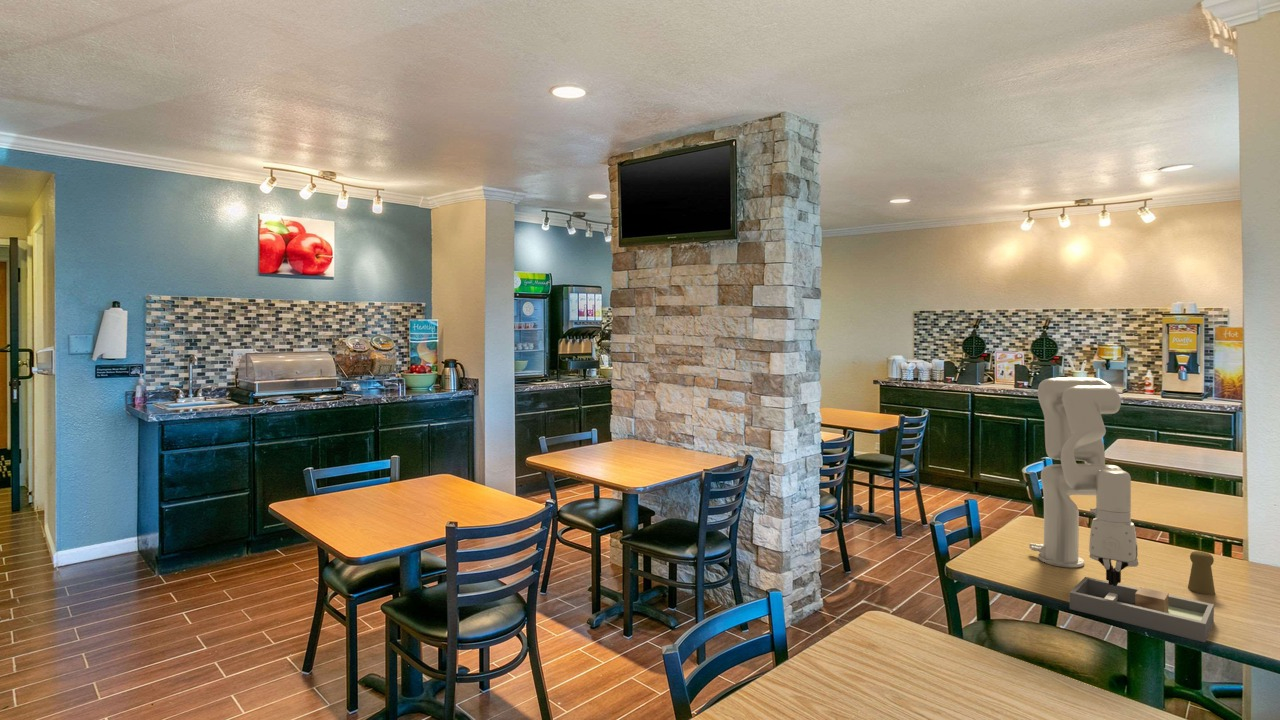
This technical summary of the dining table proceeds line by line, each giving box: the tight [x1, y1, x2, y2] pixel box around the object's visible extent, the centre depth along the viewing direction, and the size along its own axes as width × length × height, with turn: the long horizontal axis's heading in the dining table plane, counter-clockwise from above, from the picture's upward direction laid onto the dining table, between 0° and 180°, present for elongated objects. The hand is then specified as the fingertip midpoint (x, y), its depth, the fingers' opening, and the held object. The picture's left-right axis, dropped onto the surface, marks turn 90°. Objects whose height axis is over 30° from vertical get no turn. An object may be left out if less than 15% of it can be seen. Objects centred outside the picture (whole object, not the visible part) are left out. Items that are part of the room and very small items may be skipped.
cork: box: [1187, 550, 1216, 596], centre depth 189 cm, size 6×6×11 cm
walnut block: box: [1135, 586, 1170, 613], centre depth 172 cm, size 6×6×4 cm
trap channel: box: [1069, 576, 1215, 643], centre depth 174 cm, size 28×16×4 cm, turn 44°
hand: (1113, 584), depth 178 cm, fingers closed
